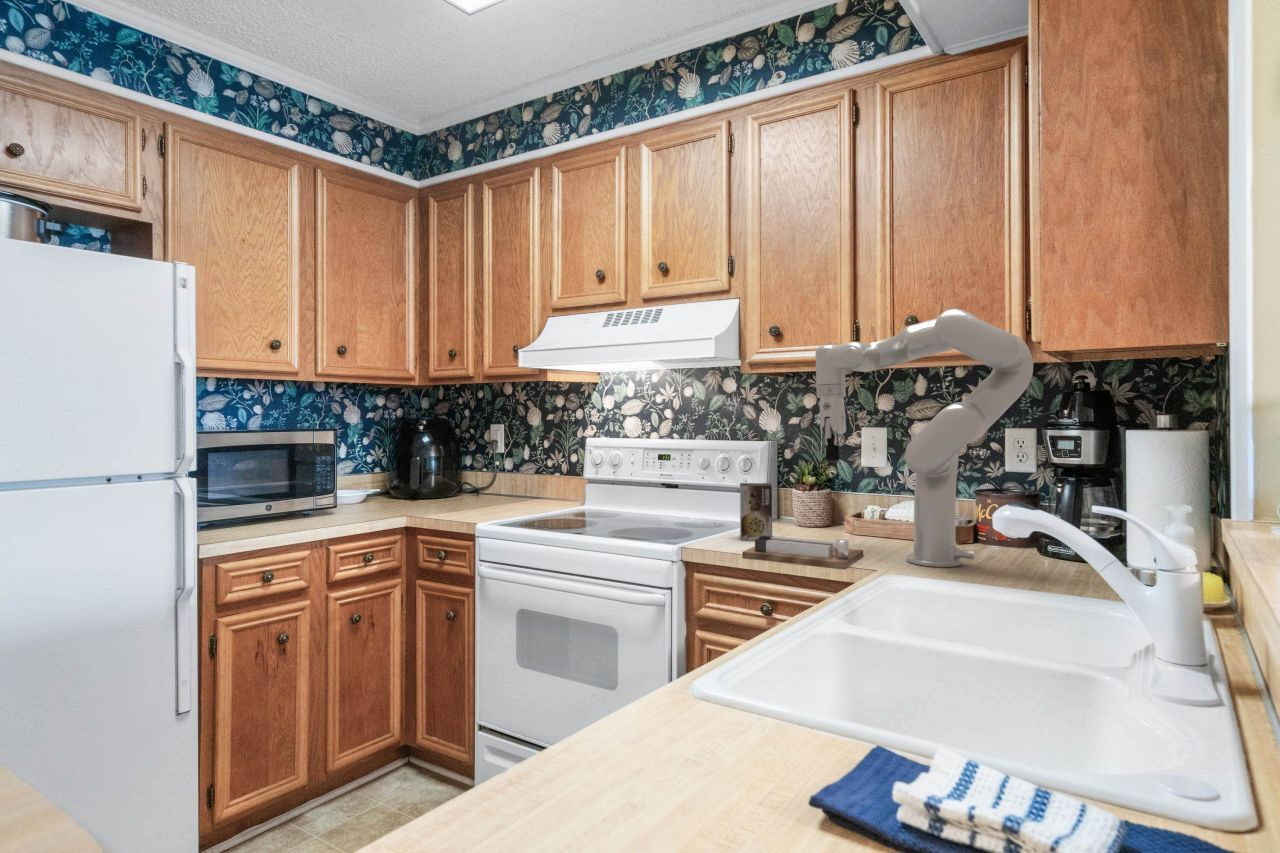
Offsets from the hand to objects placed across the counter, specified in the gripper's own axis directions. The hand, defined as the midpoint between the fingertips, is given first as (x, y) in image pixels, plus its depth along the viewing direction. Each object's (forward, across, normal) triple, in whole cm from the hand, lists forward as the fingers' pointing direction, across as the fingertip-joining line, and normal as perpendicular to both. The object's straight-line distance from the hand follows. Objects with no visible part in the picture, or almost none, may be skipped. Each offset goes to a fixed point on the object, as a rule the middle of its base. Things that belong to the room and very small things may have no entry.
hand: (833, 460), depth 199 cm
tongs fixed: (+23, -17, +5) cm, 29 cm away
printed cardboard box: (+23, +7, +25) cm, 35 cm away
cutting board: (+24, -12, +5) cm, 27 cm away
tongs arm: (+22, -15, +6) cm, 27 cm away
